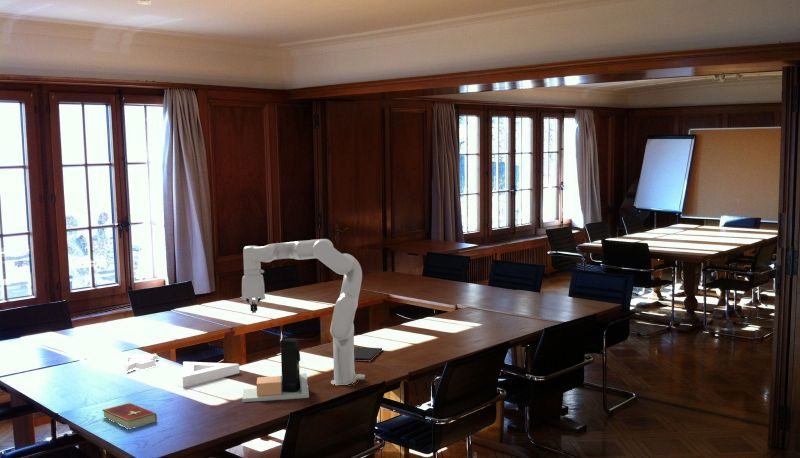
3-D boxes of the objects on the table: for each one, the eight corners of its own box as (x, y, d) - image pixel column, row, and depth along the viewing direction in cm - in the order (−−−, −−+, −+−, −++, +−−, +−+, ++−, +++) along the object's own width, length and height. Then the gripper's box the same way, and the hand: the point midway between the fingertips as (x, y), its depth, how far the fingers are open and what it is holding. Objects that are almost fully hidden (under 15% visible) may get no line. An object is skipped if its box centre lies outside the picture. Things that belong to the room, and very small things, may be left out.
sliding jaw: (282, 387, 325) (281, 375, 324) (282, 394, 315) (281, 381, 315) (257, 389, 323) (257, 377, 323) (256, 395, 313) (256, 383, 313)
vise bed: (307, 388, 329) (307, 372, 328) (309, 397, 315) (308, 380, 314) (244, 392, 324) (243, 376, 324) (242, 402, 310) (241, 384, 310)
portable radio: (303, 388, 323) (301, 332, 321) (298, 392, 317) (296, 335, 315) (286, 388, 325) (284, 332, 323) (281, 392, 319) (279, 335, 317)
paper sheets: (158, 376, 356) (158, 365, 356) (115, 380, 352) (115, 369, 352) (165, 359, 391) (164, 349, 390) (126, 362, 386) (125, 352, 386)
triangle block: (183, 374, 360) (183, 361, 360) (237, 369, 368) (237, 356, 367) (183, 390, 332) (182, 377, 331) (241, 385, 339) (241, 371, 338)
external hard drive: (382, 353, 392) (382, 348, 392) (369, 364, 370) (369, 358, 369) (357, 352, 396) (357, 347, 395) (343, 363, 373) (343, 357, 373)
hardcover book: (131, 411, 303) (130, 401, 302) (157, 422, 288) (156, 412, 288) (102, 419, 294) (102, 409, 293) (128, 430, 280) (127, 419, 279)
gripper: (269, 271, 341) (270, 310, 342) (236, 272, 338) (237, 311, 340) (268, 273, 333) (270, 313, 335) (235, 274, 331) (237, 314, 332)
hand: (254, 312), depth 337 cm, fingers closed
